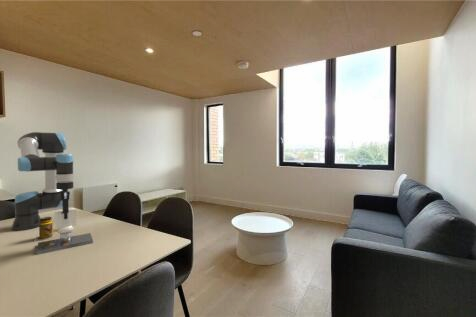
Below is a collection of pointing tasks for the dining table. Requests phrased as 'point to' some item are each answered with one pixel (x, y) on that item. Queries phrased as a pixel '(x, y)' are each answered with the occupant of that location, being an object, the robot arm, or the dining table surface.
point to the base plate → (60, 245)
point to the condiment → (45, 229)
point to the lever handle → (59, 221)
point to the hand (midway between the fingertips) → (65, 223)
